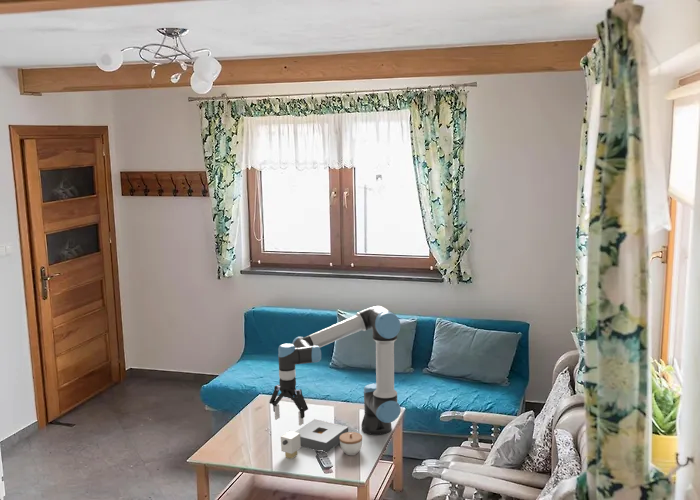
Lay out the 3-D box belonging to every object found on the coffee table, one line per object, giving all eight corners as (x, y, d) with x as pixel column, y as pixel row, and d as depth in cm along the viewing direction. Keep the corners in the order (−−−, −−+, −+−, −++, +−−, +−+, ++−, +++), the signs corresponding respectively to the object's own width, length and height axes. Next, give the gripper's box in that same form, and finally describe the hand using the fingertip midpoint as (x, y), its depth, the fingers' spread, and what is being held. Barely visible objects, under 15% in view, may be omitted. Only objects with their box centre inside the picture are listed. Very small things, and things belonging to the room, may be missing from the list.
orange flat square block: (327, 434, 340) (327, 433, 340) (321, 438, 335) (321, 437, 335) (319, 432, 342) (319, 431, 342) (313, 436, 338) (313, 435, 338)
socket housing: (348, 436, 343) (348, 426, 342) (326, 452, 326) (326, 442, 325) (314, 428, 353) (314, 419, 352) (291, 444, 336) (291, 434, 335)
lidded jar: (355, 459, 318) (354, 440, 317) (335, 454, 324) (334, 435, 322) (366, 450, 327) (366, 431, 326) (347, 445, 333) (347, 426, 331)
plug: (301, 454, 325) (300, 433, 324) (290, 461, 318) (289, 440, 316) (290, 451, 328) (289, 430, 327) (279, 458, 321) (278, 437, 319)
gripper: (314, 379, 314) (316, 423, 318) (270, 370, 327) (272, 413, 330) (305, 384, 308) (306, 430, 311) (260, 375, 321) (262, 419, 324)
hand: (289, 421), depth 321 cm, fingers open, 13 cm apart
